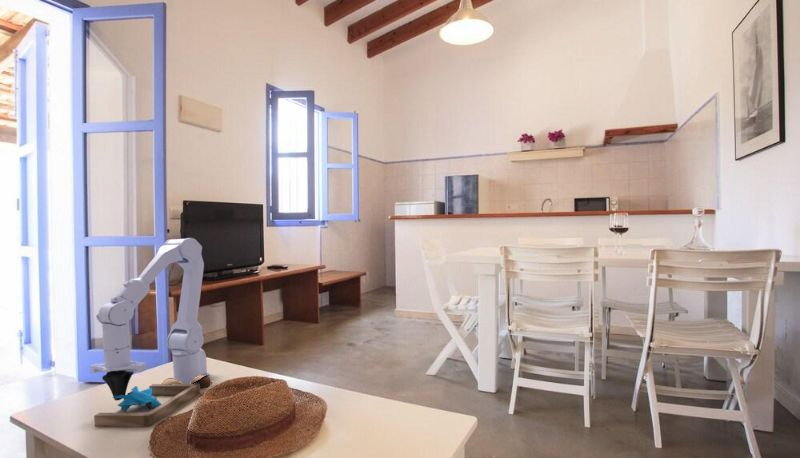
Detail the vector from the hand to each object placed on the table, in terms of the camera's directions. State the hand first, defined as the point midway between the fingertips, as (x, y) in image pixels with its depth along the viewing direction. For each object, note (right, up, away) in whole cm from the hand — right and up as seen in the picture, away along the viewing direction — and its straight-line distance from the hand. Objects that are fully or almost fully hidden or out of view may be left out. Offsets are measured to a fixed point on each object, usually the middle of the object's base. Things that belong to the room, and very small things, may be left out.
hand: (119, 398), depth 104 cm
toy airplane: (+6, -2, -1) cm, 6 cm away
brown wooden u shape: (+8, -2, -1) cm, 9 cm away
